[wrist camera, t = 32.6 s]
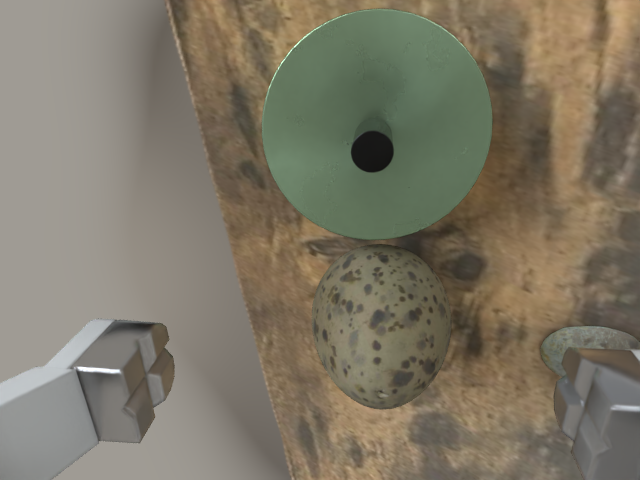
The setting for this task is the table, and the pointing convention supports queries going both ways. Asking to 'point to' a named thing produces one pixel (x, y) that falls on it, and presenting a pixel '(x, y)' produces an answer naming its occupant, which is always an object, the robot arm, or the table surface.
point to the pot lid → (377, 124)
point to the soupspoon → (583, 343)
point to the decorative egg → (381, 325)
